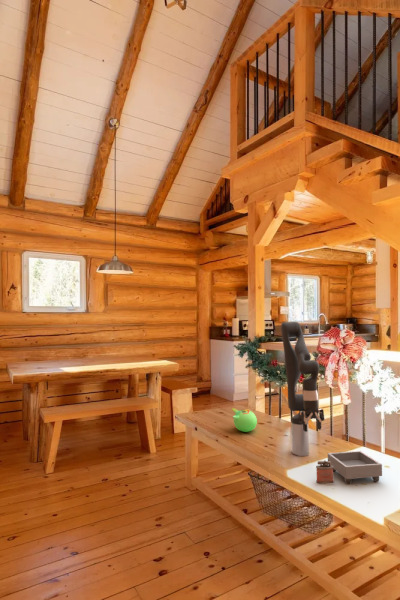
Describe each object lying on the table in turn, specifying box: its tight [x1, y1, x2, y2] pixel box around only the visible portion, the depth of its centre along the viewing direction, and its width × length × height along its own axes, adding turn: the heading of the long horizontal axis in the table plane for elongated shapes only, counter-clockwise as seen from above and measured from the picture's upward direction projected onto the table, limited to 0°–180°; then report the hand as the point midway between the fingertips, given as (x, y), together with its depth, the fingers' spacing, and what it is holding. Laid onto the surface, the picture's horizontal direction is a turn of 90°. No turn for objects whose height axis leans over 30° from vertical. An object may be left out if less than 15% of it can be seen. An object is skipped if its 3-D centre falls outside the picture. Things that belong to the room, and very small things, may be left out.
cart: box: [327, 450, 383, 485], centre depth 190 cm, size 18×18×8 cm
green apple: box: [231, 407, 258, 433], centre depth 265 cm, size 18×17×15 cm
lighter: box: [315, 459, 335, 485], centre depth 184 cm, size 8×3×10 cm, turn 92°
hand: (312, 430), depth 204 cm, fingers open, 8 cm apart
